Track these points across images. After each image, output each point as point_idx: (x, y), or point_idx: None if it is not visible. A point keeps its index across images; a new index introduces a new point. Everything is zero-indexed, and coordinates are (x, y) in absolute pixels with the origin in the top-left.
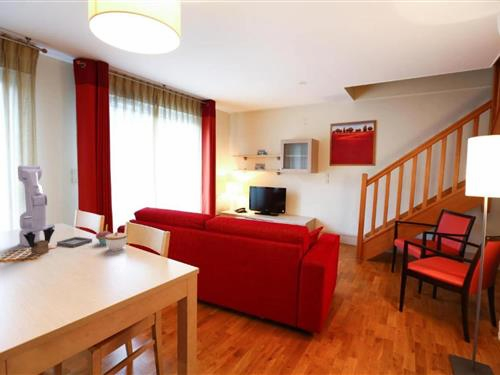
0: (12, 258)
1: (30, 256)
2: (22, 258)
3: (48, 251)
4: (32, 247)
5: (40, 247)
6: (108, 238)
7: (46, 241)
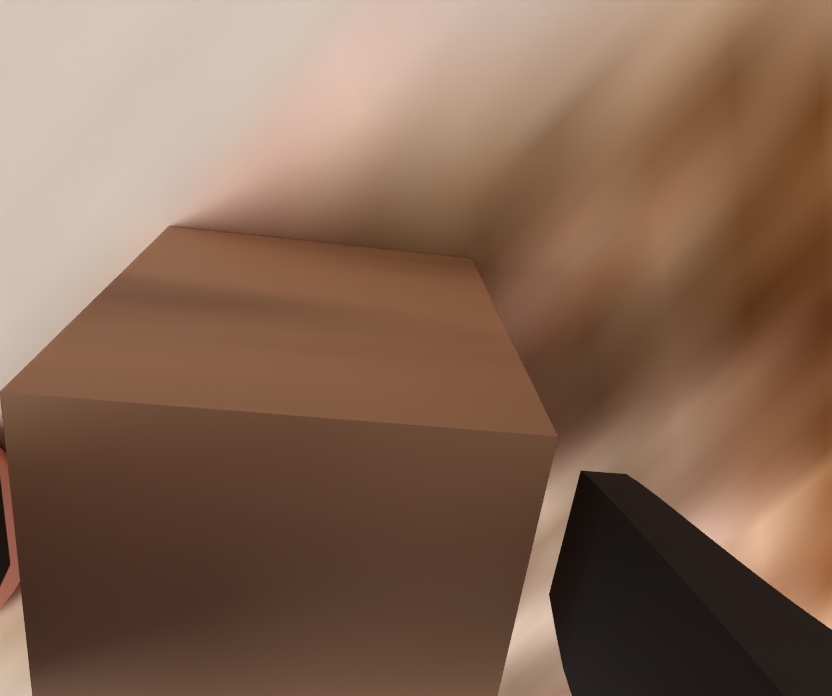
0: (775, 571)
1: (607, 353)
2: (766, 393)
3: (162, 232)
4: (626, 482)
5: (430, 331)
6: None
7: (109, 398)
